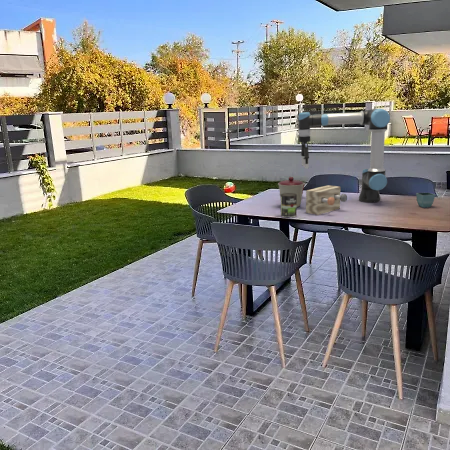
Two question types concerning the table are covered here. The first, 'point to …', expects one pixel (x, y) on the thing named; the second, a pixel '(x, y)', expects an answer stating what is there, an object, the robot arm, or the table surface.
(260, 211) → the table surface
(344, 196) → the grey plunger
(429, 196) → the flower pot
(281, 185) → the canister
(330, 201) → the terracotta plunger
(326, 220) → the table surface
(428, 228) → the table surface
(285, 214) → the coffee can
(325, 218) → the table surface
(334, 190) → the stand
